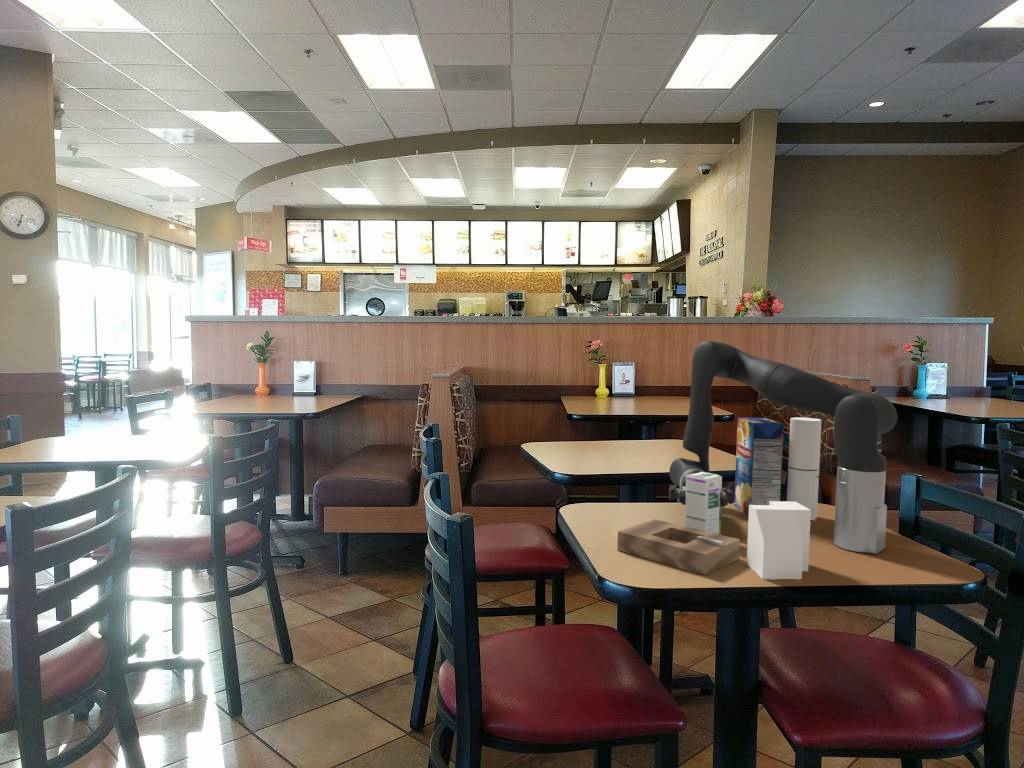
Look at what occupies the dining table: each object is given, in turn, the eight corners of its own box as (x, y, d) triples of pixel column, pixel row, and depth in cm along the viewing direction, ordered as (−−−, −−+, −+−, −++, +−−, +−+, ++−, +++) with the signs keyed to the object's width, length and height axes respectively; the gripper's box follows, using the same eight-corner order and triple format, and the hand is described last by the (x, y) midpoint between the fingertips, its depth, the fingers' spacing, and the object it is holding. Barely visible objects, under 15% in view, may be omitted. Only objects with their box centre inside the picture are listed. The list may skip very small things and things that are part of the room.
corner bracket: (793, 559, 132) (795, 501, 131) (819, 580, 121) (822, 516, 120) (740, 559, 132) (743, 500, 131) (762, 579, 121) (764, 515, 120)
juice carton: (734, 505, 176) (737, 417, 174) (761, 506, 175) (765, 417, 174) (749, 517, 164) (753, 423, 162) (779, 518, 164) (783, 423, 162)
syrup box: (706, 544, 141) (708, 478, 140) (683, 537, 146) (685, 473, 145) (721, 539, 145) (723, 475, 144) (698, 533, 150) (700, 470, 149)
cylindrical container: (779, 514, 167) (784, 418, 165) (799, 512, 170) (804, 417, 168) (802, 521, 161) (807, 421, 159) (823, 519, 164) (828, 420, 162)
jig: (739, 558, 132) (740, 535, 132) (705, 575, 122) (705, 550, 122) (654, 536, 146) (654, 515, 146) (617, 550, 136) (617, 527, 136)
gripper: (666, 469, 161) (671, 483, 145) (726, 472, 159) (738, 486, 143) (665, 499, 162) (670, 516, 146) (725, 502, 159) (736, 520, 143)
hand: (703, 501), depth 144 cm, fingers open, 8 cm apart
